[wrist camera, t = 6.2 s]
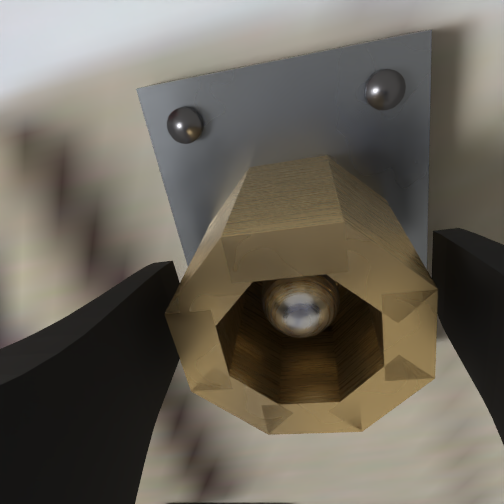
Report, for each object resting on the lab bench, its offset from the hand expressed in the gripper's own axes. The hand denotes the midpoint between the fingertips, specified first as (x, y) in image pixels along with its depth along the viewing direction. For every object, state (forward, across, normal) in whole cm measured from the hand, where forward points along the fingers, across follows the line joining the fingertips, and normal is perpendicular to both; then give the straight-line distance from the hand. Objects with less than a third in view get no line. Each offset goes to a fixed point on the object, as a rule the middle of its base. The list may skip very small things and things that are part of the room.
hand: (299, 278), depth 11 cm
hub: (+2, 0, 0) cm, 2 cm away
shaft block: (+3, 0, 0) cm, 3 cm away
